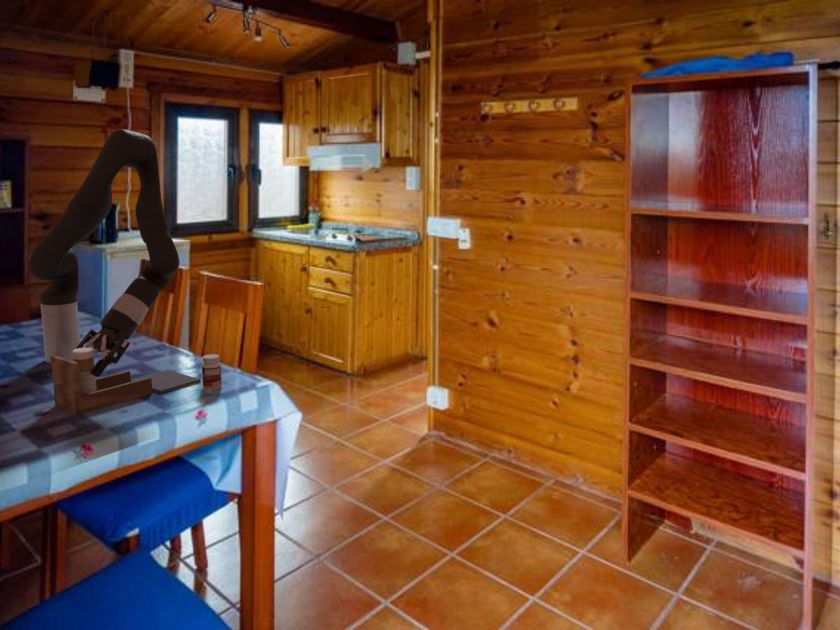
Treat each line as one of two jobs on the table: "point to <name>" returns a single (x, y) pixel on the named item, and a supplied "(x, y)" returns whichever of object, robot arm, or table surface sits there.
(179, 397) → the table surface
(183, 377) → the rubber mat
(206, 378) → the pill bottle
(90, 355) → the sprinkles bottle
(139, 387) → the shelf lane
